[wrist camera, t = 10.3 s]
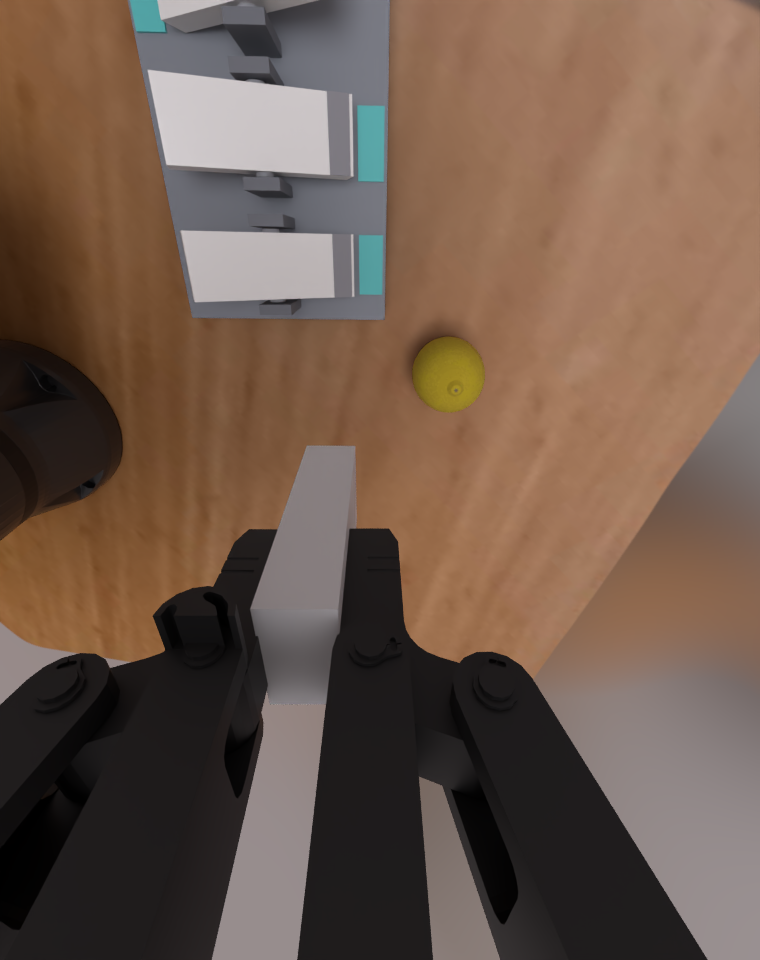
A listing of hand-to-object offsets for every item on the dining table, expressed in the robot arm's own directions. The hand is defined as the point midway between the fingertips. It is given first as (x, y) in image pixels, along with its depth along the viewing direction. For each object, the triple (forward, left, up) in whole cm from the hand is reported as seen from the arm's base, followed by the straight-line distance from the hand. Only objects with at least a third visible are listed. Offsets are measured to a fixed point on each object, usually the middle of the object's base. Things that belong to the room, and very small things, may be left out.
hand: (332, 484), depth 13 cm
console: (-5, +12, -24) cm, 28 cm away
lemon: (+7, -2, -25) cm, 26 cm away
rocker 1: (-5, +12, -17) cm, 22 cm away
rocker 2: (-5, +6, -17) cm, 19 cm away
